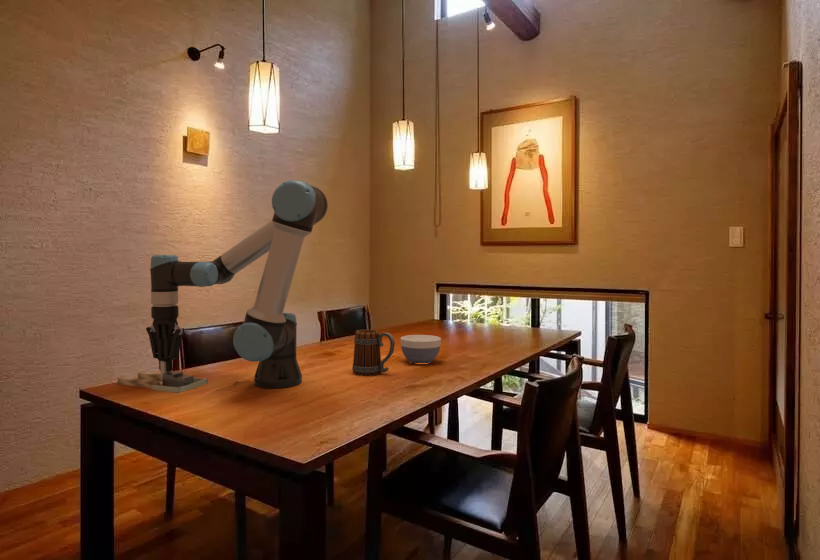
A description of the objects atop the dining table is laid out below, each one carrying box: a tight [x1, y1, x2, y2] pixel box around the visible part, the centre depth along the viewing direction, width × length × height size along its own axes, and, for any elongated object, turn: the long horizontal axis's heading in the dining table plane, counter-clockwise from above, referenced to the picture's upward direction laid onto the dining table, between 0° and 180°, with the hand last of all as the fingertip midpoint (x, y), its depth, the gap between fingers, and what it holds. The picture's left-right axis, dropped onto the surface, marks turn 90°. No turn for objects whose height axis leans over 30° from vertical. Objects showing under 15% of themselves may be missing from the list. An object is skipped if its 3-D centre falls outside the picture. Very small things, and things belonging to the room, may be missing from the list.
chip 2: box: [173, 374, 195, 388], centre depth 151 cm, size 4×4×4 cm
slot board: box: [117, 371, 163, 389], centre depth 156 cm, size 15×9×3 cm, turn 71°
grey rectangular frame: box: [151, 377, 209, 394], centre depth 152 cm, size 10×12×3 cm
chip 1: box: [163, 370, 184, 387], centre depth 153 cm, size 4×4×4 cm
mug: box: [351, 329, 395, 377], centre depth 177 cm, size 16×11×15 cm
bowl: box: [400, 334, 442, 364], centre depth 196 cm, size 16×16×10 cm
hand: (166, 381), depth 154 cm, fingers closed
